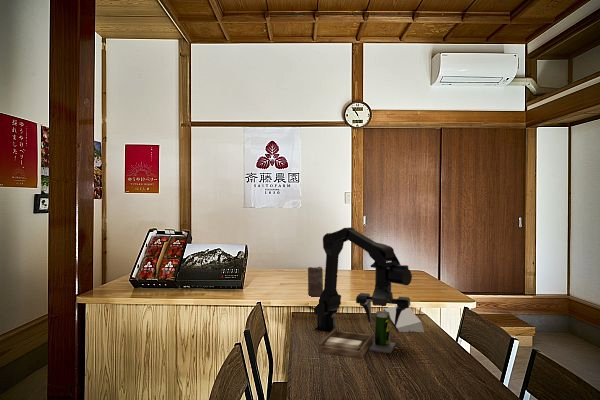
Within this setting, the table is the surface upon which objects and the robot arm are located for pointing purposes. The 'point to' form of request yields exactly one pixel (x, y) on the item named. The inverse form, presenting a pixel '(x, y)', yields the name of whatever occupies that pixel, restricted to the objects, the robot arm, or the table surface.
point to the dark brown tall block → (315, 281)
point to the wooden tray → (345, 352)
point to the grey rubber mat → (385, 350)
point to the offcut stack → (343, 343)
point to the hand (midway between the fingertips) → (382, 324)
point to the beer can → (382, 329)
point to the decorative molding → (405, 320)
